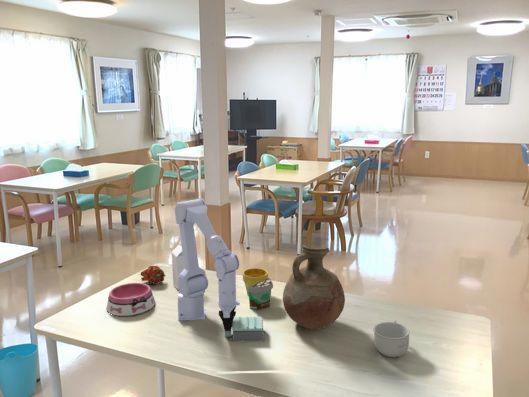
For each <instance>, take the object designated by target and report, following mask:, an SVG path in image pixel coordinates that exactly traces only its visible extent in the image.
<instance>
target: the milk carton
mask: <svg viewBox="0 0 529 397" xmlns="http://www.w3.org/2000/svg"><path fill="white" fill-rule="evenodd" d="M171 266H172V284H173V286H174V287H175V289H176V290H177V291H179V288H178V283H179V274H180V273H181V272H182V271H183V270H184V260H183V252H182V245H181V241H178V245H177V246H176V247H175V248H174V249H173V250H172V251H171Z"/></svg>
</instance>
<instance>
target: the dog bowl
mask: <svg viewBox="0 0 529 397" xmlns="http://www.w3.org/2000/svg"><path fill="white" fill-rule="evenodd" d="M156 304H157V303H156V299H155V297H154V293H153V291H152V289H151V287H150V285H149V284H146V283H141V282H129V283H124V284H121V285H118V286H115V287H114V288H112V289H110V291H109V293H108V297H107V305H106V309H105V310H107V311H106V313H107V314H109V313H110V314H112V315H114V316H113V317H116V316H118V317H117V318H130V317H135V316H136V317H137V316H141V315H144V314H146V313H149V312H150V311H152V310H153V309H154V308H155V306H156ZM110 314H109V315H110ZM112 315H111V316H112Z"/></svg>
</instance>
